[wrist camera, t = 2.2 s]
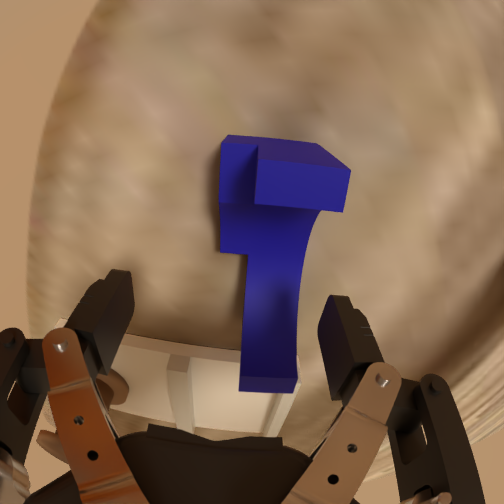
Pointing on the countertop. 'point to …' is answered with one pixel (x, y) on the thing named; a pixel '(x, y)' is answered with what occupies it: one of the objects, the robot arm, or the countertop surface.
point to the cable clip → (273, 242)
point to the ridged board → (194, 387)
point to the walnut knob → (112, 394)
